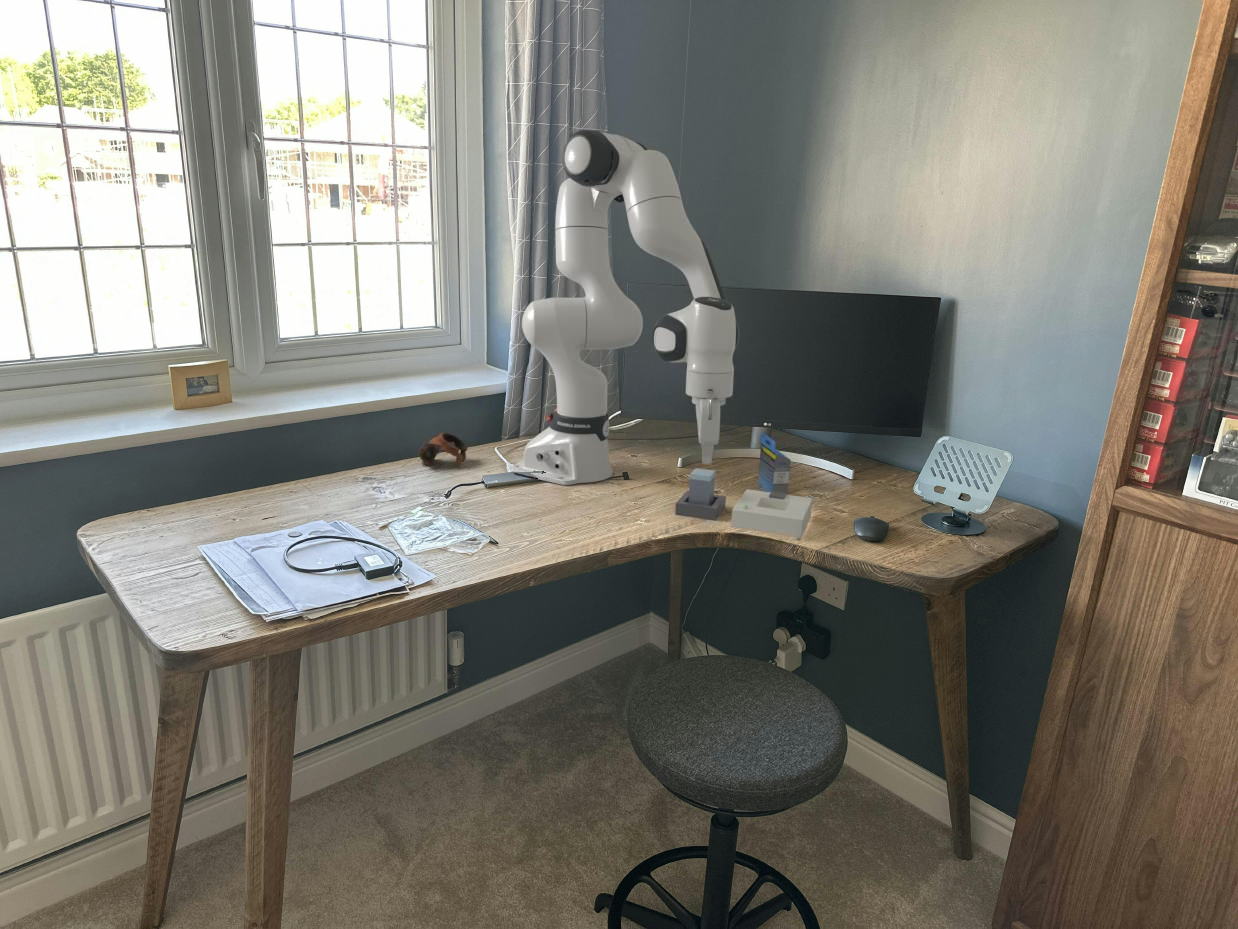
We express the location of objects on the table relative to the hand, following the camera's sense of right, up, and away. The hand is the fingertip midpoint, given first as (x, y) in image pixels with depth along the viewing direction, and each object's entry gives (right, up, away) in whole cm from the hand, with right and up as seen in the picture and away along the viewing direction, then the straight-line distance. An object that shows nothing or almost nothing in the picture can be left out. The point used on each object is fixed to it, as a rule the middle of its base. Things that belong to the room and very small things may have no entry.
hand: (706, 456), depth 160 cm
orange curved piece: (-58, -2, +31) cm, 65 cm away
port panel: (+13, -13, 0) cm, 18 cm away
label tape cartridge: (+16, -7, +18) cm, 26 cm away
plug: (-1, -11, +4) cm, 11 cm away
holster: (-1, -11, +4) cm, 12 cm away
